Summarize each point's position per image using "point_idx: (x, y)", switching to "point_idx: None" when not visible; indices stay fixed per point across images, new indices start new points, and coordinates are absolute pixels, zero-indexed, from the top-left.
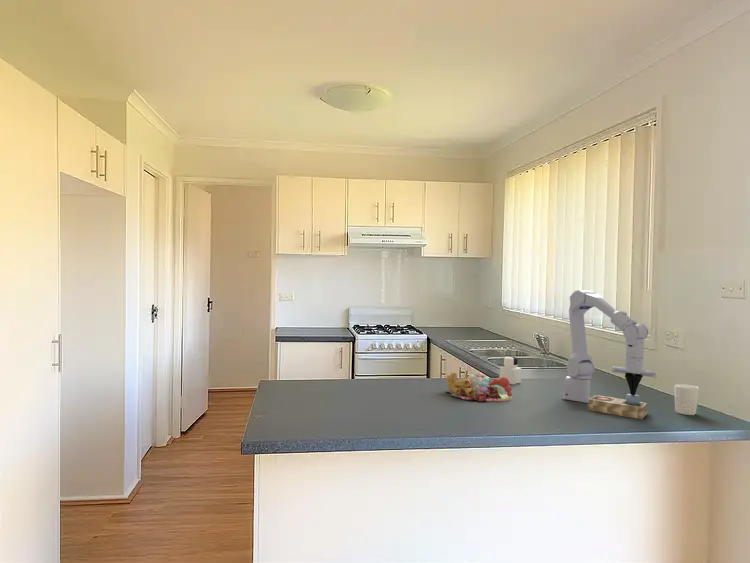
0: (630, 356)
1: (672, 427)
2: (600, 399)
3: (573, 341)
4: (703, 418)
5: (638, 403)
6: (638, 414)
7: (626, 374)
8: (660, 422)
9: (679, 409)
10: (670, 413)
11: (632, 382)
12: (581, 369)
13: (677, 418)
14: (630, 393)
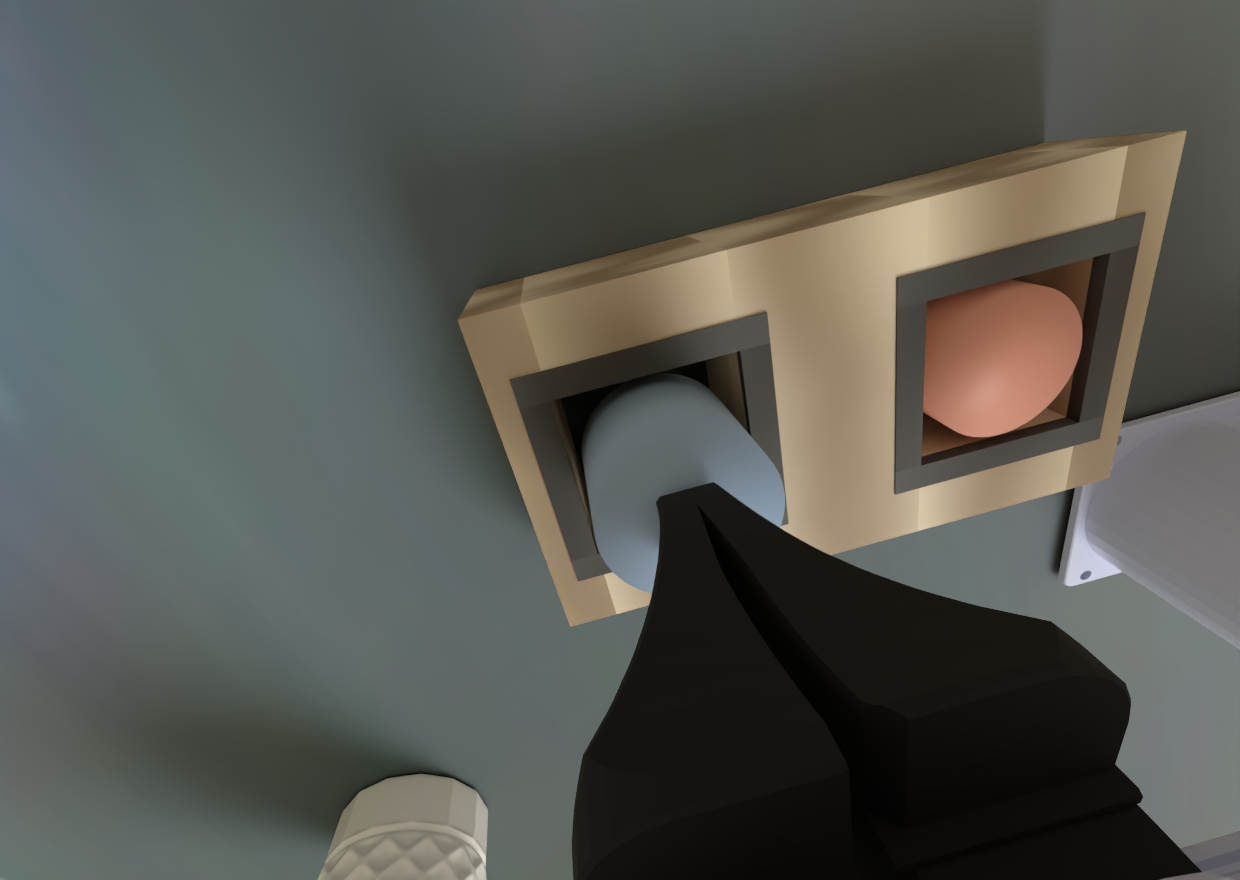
0: None
1: (65, 239)
2: (1034, 293)
3: None
4: (245, 796)
5: (585, 460)
6: (510, 288)
7: (1104, 807)
8: (295, 350)
9: (421, 805)
10: (465, 723)
11: (781, 655)
12: None
13: (333, 638)
14: (723, 489)
